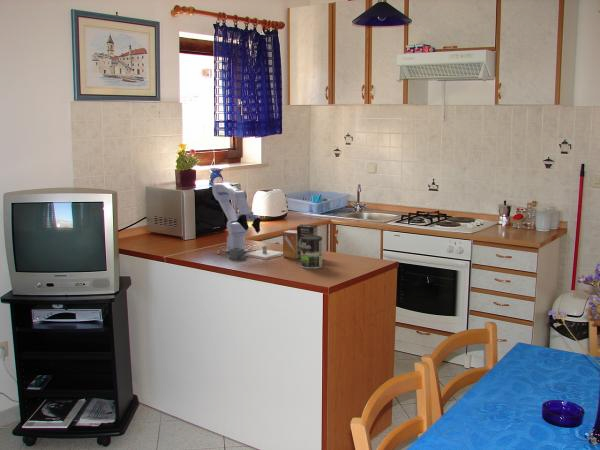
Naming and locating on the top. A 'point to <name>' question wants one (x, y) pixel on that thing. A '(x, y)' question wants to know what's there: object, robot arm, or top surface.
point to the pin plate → (264, 253)
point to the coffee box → (304, 234)
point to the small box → (290, 244)
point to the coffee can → (311, 252)
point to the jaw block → (237, 254)
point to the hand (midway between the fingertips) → (252, 230)
